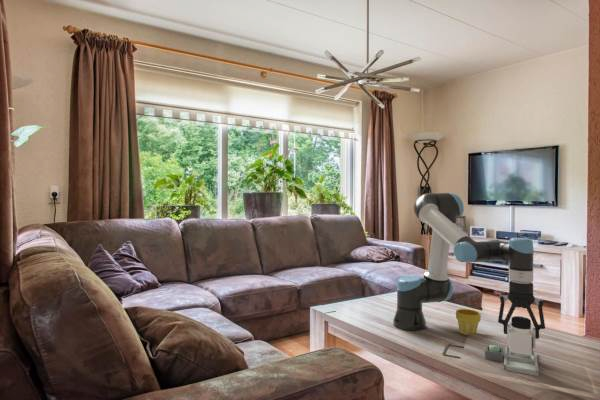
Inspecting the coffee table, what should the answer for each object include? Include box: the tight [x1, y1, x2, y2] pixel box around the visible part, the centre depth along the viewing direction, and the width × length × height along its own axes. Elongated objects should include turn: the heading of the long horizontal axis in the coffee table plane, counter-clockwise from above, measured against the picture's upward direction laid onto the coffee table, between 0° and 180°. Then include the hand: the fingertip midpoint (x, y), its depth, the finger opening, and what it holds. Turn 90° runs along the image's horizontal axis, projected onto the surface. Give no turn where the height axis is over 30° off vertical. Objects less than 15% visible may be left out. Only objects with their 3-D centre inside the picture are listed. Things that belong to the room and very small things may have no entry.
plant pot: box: [455, 308, 482, 336], centre depth 179 cm, size 10×10×10 cm
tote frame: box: [442, 343, 465, 359], centre depth 157 cm, size 13×13×1 cm
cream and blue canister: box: [509, 322, 531, 359], centre depth 149 cm, size 7×7×12 cm
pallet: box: [484, 345, 540, 377], centre depth 146 cm, size 18×22×4 cm
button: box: [488, 344, 501, 352], centre depth 149 cm, size 4×4×3 cm
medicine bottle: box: [508, 315, 534, 356], centre depth 141 cm, size 7×7×12 cm
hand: (521, 344), depth 141 cm, fingers closed on medicine bottle, 7 cm apart
